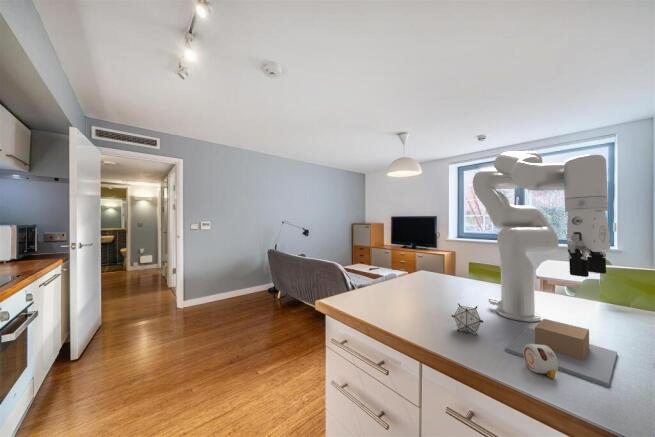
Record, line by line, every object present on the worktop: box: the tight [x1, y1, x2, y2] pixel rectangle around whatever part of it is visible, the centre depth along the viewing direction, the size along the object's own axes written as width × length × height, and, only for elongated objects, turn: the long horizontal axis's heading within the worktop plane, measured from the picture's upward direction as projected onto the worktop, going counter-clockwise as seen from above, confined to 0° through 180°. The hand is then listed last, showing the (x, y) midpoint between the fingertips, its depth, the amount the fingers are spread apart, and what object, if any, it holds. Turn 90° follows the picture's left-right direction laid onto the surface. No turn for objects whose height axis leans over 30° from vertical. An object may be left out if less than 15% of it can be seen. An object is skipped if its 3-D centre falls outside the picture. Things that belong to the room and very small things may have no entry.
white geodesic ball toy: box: [450, 302, 484, 336], centre depth 76 cm, size 9×8×10 cm
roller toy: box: [523, 344, 559, 379], centre depth 56 cm, size 4×6×6 cm
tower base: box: [504, 318, 618, 388], centre depth 64 cm, size 18×20×6 cm
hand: (588, 274), depth 62 cm, fingers open, 9 cm apart
